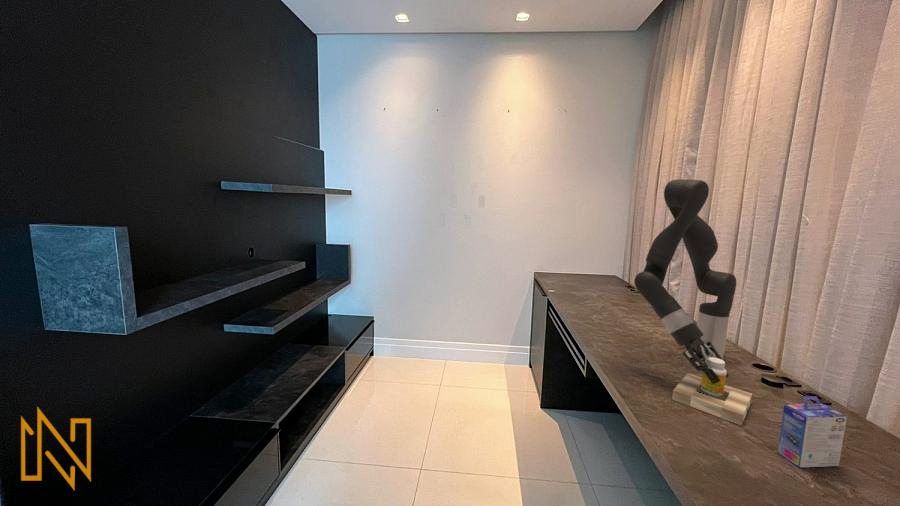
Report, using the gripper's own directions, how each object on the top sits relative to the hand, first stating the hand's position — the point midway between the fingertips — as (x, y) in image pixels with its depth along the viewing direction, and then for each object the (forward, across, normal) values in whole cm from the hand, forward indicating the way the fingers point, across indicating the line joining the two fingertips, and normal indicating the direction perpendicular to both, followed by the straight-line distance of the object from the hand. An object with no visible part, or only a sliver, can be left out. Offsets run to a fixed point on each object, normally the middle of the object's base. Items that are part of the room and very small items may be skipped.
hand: (721, 379), depth 99 cm
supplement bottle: (+2, 0, +5) cm, 5 cm away
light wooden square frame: (+4, 0, +6) cm, 8 cm away
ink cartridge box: (+20, -8, -9) cm, 23 cm away
